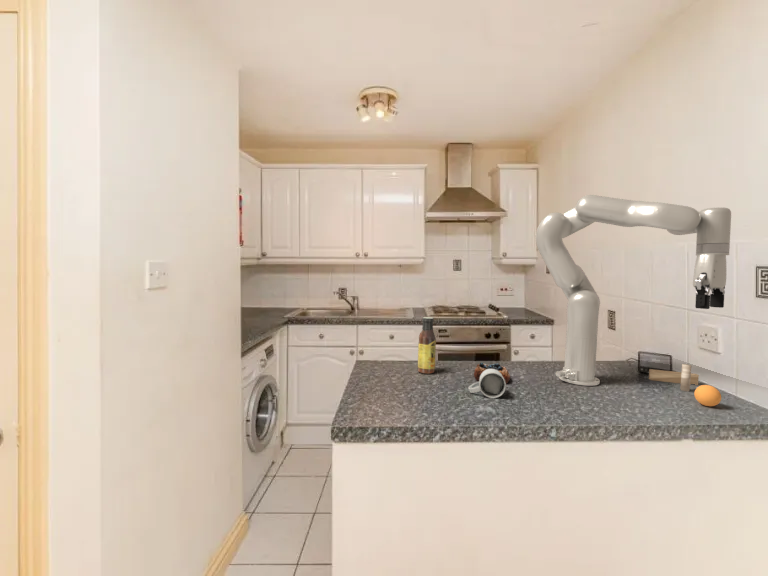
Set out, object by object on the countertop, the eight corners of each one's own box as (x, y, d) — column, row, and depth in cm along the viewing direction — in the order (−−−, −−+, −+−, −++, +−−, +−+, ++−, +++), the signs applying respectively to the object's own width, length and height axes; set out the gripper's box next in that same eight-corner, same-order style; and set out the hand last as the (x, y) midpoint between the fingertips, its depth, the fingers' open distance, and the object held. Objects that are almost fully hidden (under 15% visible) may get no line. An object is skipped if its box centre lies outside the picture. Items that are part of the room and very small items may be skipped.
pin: (687, 391, 123) (689, 366, 123) (678, 389, 125) (680, 364, 125) (691, 391, 124) (693, 365, 124) (682, 388, 126) (684, 363, 126)
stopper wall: (698, 385, 131) (698, 375, 131) (650, 380, 135) (651, 370, 135) (695, 383, 133) (696, 373, 133) (648, 378, 137) (649, 369, 137)
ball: (714, 410, 106) (715, 389, 106) (689, 403, 112) (690, 383, 112) (724, 407, 109) (726, 387, 109) (700, 400, 115) (701, 381, 114)
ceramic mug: (502, 390, 119) (503, 366, 118) (505, 399, 111) (506, 373, 110) (468, 388, 121) (468, 364, 120) (468, 396, 113) (469, 371, 112)
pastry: (474, 373, 138) (475, 357, 138) (508, 377, 135) (509, 360, 135) (473, 382, 128) (473, 365, 127) (510, 386, 124) (511, 368, 124)
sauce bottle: (434, 375, 134) (436, 319, 132) (416, 373, 135) (418, 318, 134) (435, 370, 140) (437, 317, 139) (418, 369, 141) (420, 316, 140)
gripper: (709, 251, 120) (706, 305, 121) (683, 249, 111) (681, 307, 112) (740, 250, 114) (737, 307, 114) (715, 248, 105) (712, 310, 106)
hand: (709, 307), depth 113 cm, fingers open, 9 cm apart
